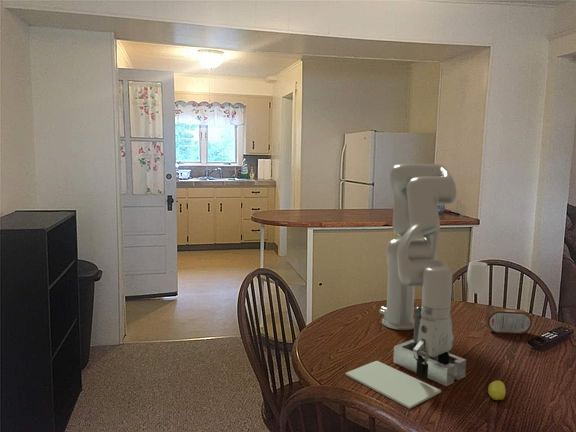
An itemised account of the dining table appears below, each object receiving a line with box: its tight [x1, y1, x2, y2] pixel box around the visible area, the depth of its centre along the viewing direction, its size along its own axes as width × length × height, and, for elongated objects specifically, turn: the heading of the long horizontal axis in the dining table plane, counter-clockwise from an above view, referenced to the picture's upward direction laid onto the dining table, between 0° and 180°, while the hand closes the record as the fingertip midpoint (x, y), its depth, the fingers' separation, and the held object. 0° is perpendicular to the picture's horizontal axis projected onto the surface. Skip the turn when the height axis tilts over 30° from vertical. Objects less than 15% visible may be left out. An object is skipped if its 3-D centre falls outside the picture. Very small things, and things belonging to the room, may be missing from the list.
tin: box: [484, 307, 533, 335], centre depth 163 cm, size 15×3×8 cm, turn 84°
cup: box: [466, 261, 489, 295], centre depth 178 cm, size 7×7×21 cm
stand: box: [413, 306, 422, 349], centre depth 137 cm, size 4×4×18 cm
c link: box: [392, 338, 467, 387], centre depth 135 cm, size 18×9×5 cm, turn 38°
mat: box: [345, 360, 442, 410], centre depth 127 cm, size 22×13×1 cm, turn 38°
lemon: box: [487, 380, 507, 401], centre depth 120 cm, size 4×8×4 cm, turn 148°
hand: (432, 371), depth 129 cm, fingers open, 9 cm apart
